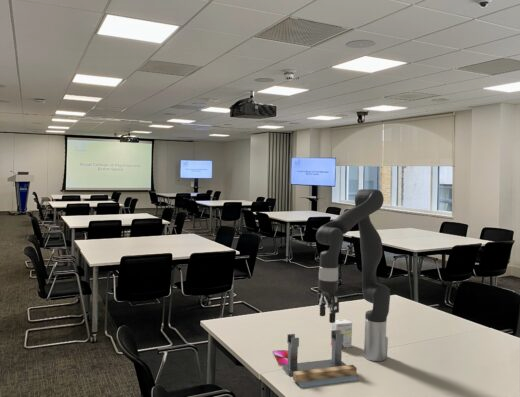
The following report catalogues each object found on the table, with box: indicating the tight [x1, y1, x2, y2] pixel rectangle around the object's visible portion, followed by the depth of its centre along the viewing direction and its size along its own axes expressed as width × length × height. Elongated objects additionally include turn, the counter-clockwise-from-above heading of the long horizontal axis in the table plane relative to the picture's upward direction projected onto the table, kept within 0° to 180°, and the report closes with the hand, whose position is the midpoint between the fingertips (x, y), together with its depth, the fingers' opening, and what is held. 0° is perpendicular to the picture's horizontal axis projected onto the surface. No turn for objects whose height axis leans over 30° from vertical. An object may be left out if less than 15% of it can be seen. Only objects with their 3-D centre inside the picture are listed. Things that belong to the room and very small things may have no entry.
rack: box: [281, 329, 347, 377], centre depth 183 cm, size 26×7×14 cm, turn 108°
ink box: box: [330, 319, 353, 349], centre depth 209 cm, size 9×5×12 cm, turn 107°
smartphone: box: [272, 349, 288, 367], centre depth 192 cm, size 7×1×15 cm
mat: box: [297, 375, 359, 388], centre depth 173 cm, size 24×8×1 cm, turn 108°
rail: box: [292, 364, 357, 384], centre depth 173 cm, size 26×3×3 cm, turn 107°
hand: (327, 319), depth 172 cm, fingers open, 8 cm apart
